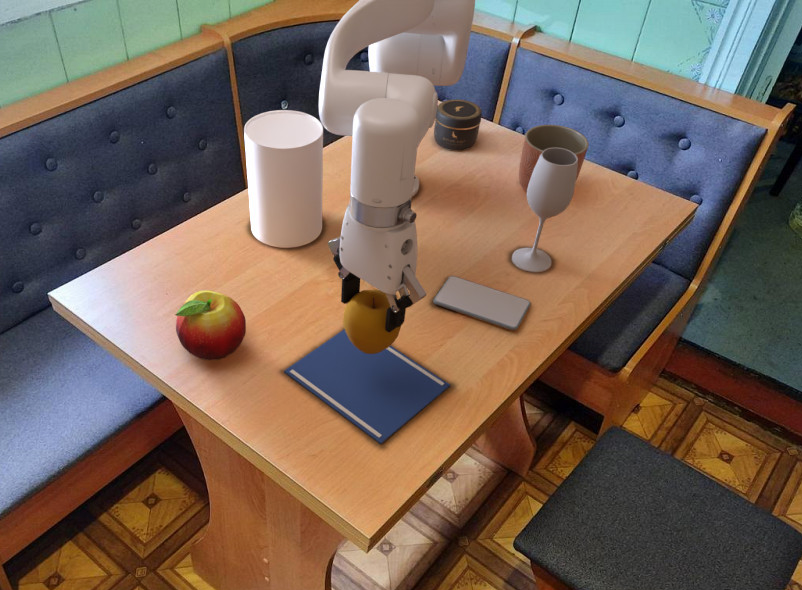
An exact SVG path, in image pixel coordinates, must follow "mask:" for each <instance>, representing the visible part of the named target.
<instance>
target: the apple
mask: <svg viewBox="0 0 802 590" xmlns="http://www.w3.org/2000/svg"><path fill="white" fill-rule="evenodd" d="M389 307H390V304H389V301H388V298H387V295H386V293H384V292H382V291H380V290H379V289H377V288H373V289H363V290H360V292H359V293H357V294H356V295H354V296H353V297H352V298H351V299H350V300H349V302H348V303H347V304H345V306H344V311H343V315H342V323H343V324H342V326H343V328H344V329H345V331H346V334H347V336H348V338H349V340H350V341H351V342H352V343H353V345H354V346H355V347H356V348H358V349H359V350H360V351H362V352H364V353H366V354H376V353H380V352H381V351H383V350H385V349H387V348H388V347H389V346H392V344H394V343H395V341H396V340H397V338H398V337H399V335H400V331H401V328H402V325H401V326H400V327H397V328H395V329H394V330H392V331H391V332H390V333H389V332H387V331H386V329H385V325H386V314H387V309H388V308H389ZM344 329H343V330H344Z"/></svg>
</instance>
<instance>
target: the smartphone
mask: <svg viewBox="0 0 802 590" xmlns="http://www.w3.org/2000/svg"><path fill="white" fill-rule="evenodd" d="M433 304H434V305H437V306H439V307H442V308H445V309H448V310H450V311H453V312H457V313H460V314H463V315H465V316H469V317H472V318H474V319H477V320H481V321H483V322H486V323H489V324H492V325H495V326H497V327H501V328H504V329H507V330H509V331H516V330H518V329H519V327H520V325H521V323H522V321H523V319H524V318H525V316H526V314H527V312H528V310H529V309H530V307H531V304H532V303H531V301H530V300H529V299H526V298H523V297H521V296H518V295H515V294H511V293H508V292H505V291H502V290H499V289H496V288H493V287H489V286H486V285H483V284H481V283H478V282H474V281H471V280H468V279H465V278H462V277H459V276H455V275H450V276H448V278H447V279H446V280H445V282H444V284H443V285H442V286H441V287H440V289H439V291H438V292H437V294H436V295H435V296H434V298H433Z"/></svg>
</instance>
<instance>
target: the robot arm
mask: <svg viewBox="0 0 802 590" xmlns="http://www.w3.org/2000/svg"><path fill="white" fill-rule="evenodd" d="M475 9H476V0H358V1H357V2H356V3H355V4H353V6H351V7H350V9H349V10H347V12H345V14H344V15H343V16H342V17H341V19H340V20H339V21H338V22H337V24H336V25H335V27H334V29H332V31H331V33H330V36H329V38H328V40H327V44H326V46H325V49H324V54H323V60H322V68H321V70H322V71H321V77H320V83H319V93H318V115H319V121H320V122H321V124H322V126H323V128H324V129H325V130H326V131H327V132H329V133H331V134H334V135H337V136H344V137H352V141H351V142H352V144H351V164H350V165H351V167H350V186H349V187H350V188H349V189H350V191H349V202H348V204H347V206H346V208H345V211H344V216H343V220H342V223H341V224H342V225H341V231H340V236H339V237H334V238H333V239H331V240H329V241H328V242H327V246H328V248H329V250H330V253H331V255H332V256H333V258H332V259H333V262H334V264H335V265H336V268H337V269H338V272H337V275H338V278H339V279H340V280H341V294H340V295H341V296H340V302H341V303H342V304H344V305H347V303H348V302H349V300H350V299H351V298H352V297H353V296H354V295H356V294H357V293H359V292H361V281H363V282H365V283H367V284H369V285H370V286H372V287H373V288H374V289H377V290H380V291H382V292H384V293H386V295H387V298H388V301H389V304H390V307H389V308H388V309H387V314H386V325H385V329H386V331H387V332H389V333H390V332H391V331H392V330H394V329H395V328H397V327H400V326H401V327H402V325H403V324H404V322H405V319H406V309H408V308H410V307H412V306H413V305H414V304H416V303H418V302H420V301H421V300H422V299H424V298H425V297H426V296H427V292H426V290H425V289H424V287H423V285H422V284H421V283H420V281H419V279H418V278H417V266H418V233H417V225H416V219H417V213H416V212H414V211H413V209H412V203H413V197H414V196H415V195H416V194H417V193H418V192H419V189H420V180H419V179H420V178H419V177H418V176H417V175H416V174H415V173H416V165H417V155H418V148H419V146H420V144H421V143H422V141H423V140H424V137H426V134H427V133H428V131H429V129H431V128H433V126H434V125H435V118H436V114H437V107H438V105H439V98H438V97H439V96H438V92H437V91H436V89H435V88H436V87H435V86H437V87H451V86H454V85H456V84H457V83H458V82H460V80H461V78H462V76H463V74H464V71H465V67H466V62H467V58H468V52H469V51H468V50H469V45H470V40H471V34H472V27H473V22H474V15H475ZM366 48H368V49H367V50H368V52H367V53H368V55H367V56H368V66H369V71H368V70H356V69H346V68H347V65H348V63H350V60H351V59H352V58H353V57H354V56H356V55H357V54H358V53H359V52H361V51H362V50H364V49H366ZM397 292H398V294H399V298H398V297H397V295H396V294H397Z"/></svg>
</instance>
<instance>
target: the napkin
mask: <svg viewBox="0 0 802 590" xmlns="http://www.w3.org/2000/svg"><path fill="white" fill-rule="evenodd" d="M283 373H284V374H286V376H288V377H289V378H291V379H292V380H293V381H295V382H296V383H297V384H298V385H300V386H301V387H303V388H304V389H305V390H307V391H308V392H309V393H310V394H312V395H313V396H315V397H316V398H317V399H318V400H320V401H322V402H323V403H324V404H326V405H327V406H328V407H329V408H331V409H332V410H333V411H335V412H336V413H337V414H339V415H341V416H342V417H343V418H344V419H345V420H347V421H348V422H350V423H351V424H352V425H354V426H355V427H356V428H358V429H359V430H360V431H362V432H363V433H364V434H366V435H367V436H368V437H370V438H371V439H373V440H374V441H375V442H376V443H377V444H379V445H382V444H384V443H385V442H386V441H387V440H388V439H389V438H390V437H392V436H393V435H394V434H395V433H397V432H398V431H399V430H400V429H401V428H402V427H404V426H405V425H406V424H408V422H410V421H411V420H412V419H413V418H415V416H417V415H418V414H419V413H421V411H423V410H424V409H425V408H427V406H429V405H430V404H431V403H432V402H434V400H436V399H437V398H438V397H439V396H441V395H442V394H443V393H444V392H446V391H447V390H448V389H449V388H451V384H450V383H448V382H447V381H446V380H445V379H443V378H441V377H439V376H438V375H436V374H435V373H433V372H432V371H430V370H428V368H425V367H424V366H423V365H421V364H420V363H418V362H417V361H415V360H413V359H412V358H410V357H409V356H408V355H405V354H404V353H403V352H401V351H399V350H398V349H396V348H395V347H394V346H392V345H390V346H389V347H388V348H387V349H385V350H383V351H381V352H380V353H376V354H366V353H364V352H362V351H360V350H359V349H358V348H356V347H355V346H354V345H353V343H352V342H351V341H350V340H349V338H348V336H347V334H346V331H345V329H342V330H341V331H340V332H338V333H337V334H335V335H333V336H332V337H331V338H329V339H328V340H326V341H325V342H323V343H322V344H320V345H319V346H318V347H316V348H315V349H314V350H312V351H311V352H309V353H307V354H305V356H303V357H302V358H300V359H299V360H297V361H296V362H295V363H293V364H292V365H290V366H289V367H287V368H286V369H284V370H283Z"/></svg>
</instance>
